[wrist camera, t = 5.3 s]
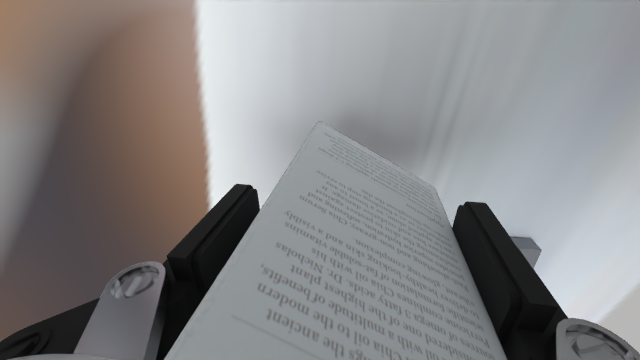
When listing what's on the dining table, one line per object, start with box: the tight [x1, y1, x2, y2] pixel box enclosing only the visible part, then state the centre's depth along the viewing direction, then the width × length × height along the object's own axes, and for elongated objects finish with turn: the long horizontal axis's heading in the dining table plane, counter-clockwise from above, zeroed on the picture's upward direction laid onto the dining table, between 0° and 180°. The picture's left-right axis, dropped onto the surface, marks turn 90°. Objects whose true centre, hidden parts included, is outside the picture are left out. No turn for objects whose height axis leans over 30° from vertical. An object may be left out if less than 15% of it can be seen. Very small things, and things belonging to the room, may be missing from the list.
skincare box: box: [164, 121, 507, 360], centre depth 7 cm, size 6×4×12 cm
